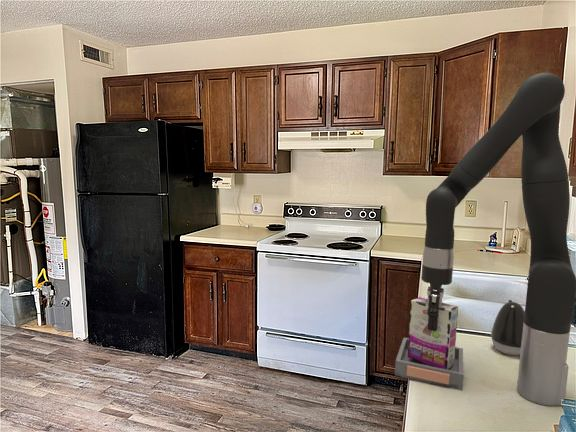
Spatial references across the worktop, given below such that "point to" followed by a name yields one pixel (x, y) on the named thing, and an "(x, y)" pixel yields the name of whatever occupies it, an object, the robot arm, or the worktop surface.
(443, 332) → the candy bar box
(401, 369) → the labelled tray
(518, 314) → the black rounded cone
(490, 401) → the worktop surface
